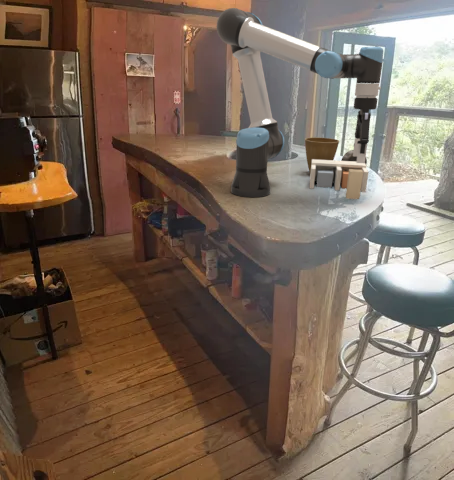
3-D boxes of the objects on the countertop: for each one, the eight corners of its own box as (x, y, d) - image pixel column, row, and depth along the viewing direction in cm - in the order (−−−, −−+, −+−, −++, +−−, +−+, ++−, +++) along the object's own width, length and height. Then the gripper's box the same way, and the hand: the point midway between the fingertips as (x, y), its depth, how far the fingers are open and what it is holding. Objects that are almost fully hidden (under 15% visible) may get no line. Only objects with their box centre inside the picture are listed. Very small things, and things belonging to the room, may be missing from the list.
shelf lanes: (309, 188, 161) (311, 166, 158) (309, 179, 175) (311, 159, 172) (365, 192, 157) (369, 169, 154) (361, 183, 171) (364, 161, 168)
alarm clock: (359, 175, 185) (364, 139, 179) (366, 178, 180) (371, 141, 174) (338, 176, 183) (342, 140, 177) (344, 179, 178) (349, 141, 172)
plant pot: (295, 174, 185) (298, 139, 179) (313, 170, 195) (316, 136, 189) (324, 180, 175) (328, 142, 169) (340, 175, 185) (345, 139, 179)
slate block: (316, 186, 164) (318, 172, 162) (316, 183, 170) (317, 169, 167) (331, 187, 163) (333, 173, 161) (331, 184, 169) (332, 170, 166)
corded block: (344, 198, 148) (347, 171, 145) (340, 184, 168) (343, 160, 164) (361, 199, 147) (365, 172, 144) (355, 185, 167) (359, 161, 163)
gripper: (383, 98, 125) (374, 166, 133) (372, 96, 148) (365, 154, 155) (358, 98, 126) (350, 165, 134) (351, 95, 149) (345, 153, 157)
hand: (358, 159), depth 145 cm, fingers open, 13 cm apart
